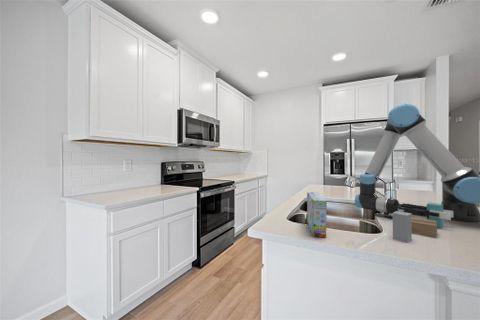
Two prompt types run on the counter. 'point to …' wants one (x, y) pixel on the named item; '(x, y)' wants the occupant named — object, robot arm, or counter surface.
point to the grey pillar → (402, 226)
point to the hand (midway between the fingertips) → (451, 215)
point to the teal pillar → (435, 208)
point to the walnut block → (424, 227)
